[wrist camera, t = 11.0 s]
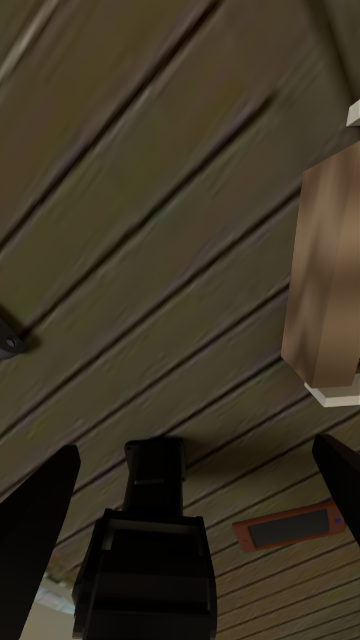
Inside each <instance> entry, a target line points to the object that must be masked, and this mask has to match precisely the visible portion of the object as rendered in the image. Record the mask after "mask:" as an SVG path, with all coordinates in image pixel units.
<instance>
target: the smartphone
mask: <svg viewBox="0 0 360 640" xmlns="http://www.w3.org/2000/svg"><path fill="white" fill-rule="evenodd" d="M232 527H233V530H234V532H235V535H236V537H237V539H238V542H239V544H240V546H241V549H242V551H243V552H244V553H247V552H254V551H259V550H264V549H269V548H273V547H278V546H283V545H287V544H292V543H297V542H302V541H306V540H311V539H316V538H321V537H325V536H330V535H334V534H338V533H342V532H344V531H345V522H344V518H343V517H342V515H341V513H340V511H339V509H338V508H337V506H336V504H335V502H334V500H332V501H327V502H323V503H318V504H314V505H309V506H305V507H301V508H296V509H292V510H288V511H283V512H279V513H275V514H270V515H266V516H261V517H257V518H253V519H248V520H244V521H240V522H236V523H233V524H232Z"/></svg>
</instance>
